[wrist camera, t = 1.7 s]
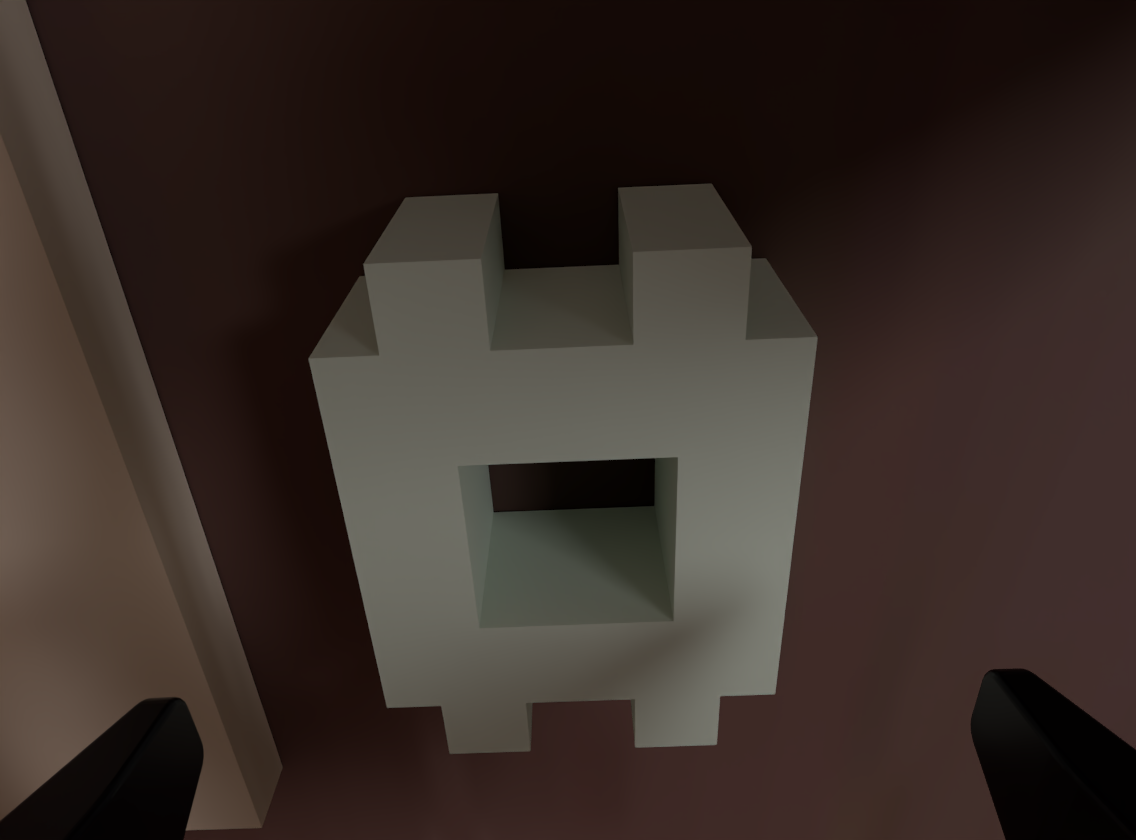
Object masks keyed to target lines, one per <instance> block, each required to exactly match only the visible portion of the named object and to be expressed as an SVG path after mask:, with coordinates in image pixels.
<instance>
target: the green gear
mask: <svg viewBox="0 0 1136 840" xmlns="http://www.w3.org/2000/svg"><path fill="white" fill-rule="evenodd" d="M618 225H619V265H600V266H577V267H555V268H532V269H509V270H505V266H504V255H503V243H502V232H501V220H500V208H499V197H498V193H492V194H470V195H449V196H427V197H405V199H404V200H403V202H402V204H401V205H400V207H399V208H398V210H397V212H396V213H395V215H394V216H393V218H392V219H391V221H390V223H389V224H388V226H387V227H386V229H385V230H384V232H383V234H382V235H381V237H380V238H379V240H378V241H377V243H376V245H375V246H374V248H373V249H372V251H371V253H370V254H369V256H368V257H367V259H366V260H365V262H364V264H363V266H364V271H365V276H359V278H358V280H357V281H356V283H355V284H354V286H353V288H352V289H351V291H350V292H349V294H348V296H347V297H346V299H345V300H344V302H343V304H342V305H341V307H340V308H339V310H338V312H337V313H336V315H335V317H334V318H333V320H332V321H331V323H330V325H329V326H328V328H327V329H326V331H325V333H324V334H323V336H322V337H321V339H320V341H319V342H318V344H317V345H316V347H315V349H314V350H313V352H312V354H311V355H310V357H309V358H308V359H309V364H310V368H311V372H312V377H313V381H314V386H315V390H316V395H317V399H318V404H319V408H320V413H321V417H322V421H323V426H324V430H325V435H326V439H327V444H328V448H329V453H330V457H331V461H332V466H333V470H334V475H335V479H336V484H337V488H338V493H339V497H340V501H341V506H342V510H343V515H344V519H345V524H346V528H347V533H348V537H349V541H350V546H351V550H352V555H353V559H354V564H355V568H356V573H357V577H358V581H359V586H360V590H361V595H362V599H363V604H364V608H365V613H366V617H367V621H368V626H369V630H370V635H371V639H372V644H373V648H374V653H375V657H376V661H377V666H378V670H379V675H380V679H381V684H382V688H383V693H384V697H385V701H386V706H387V708H398V707H426V706H441V708H442V714H443V719H444V725H445V731H446V736H447V742H448V748H449V753H450V754H462V753H491V752H520V751H531V728H532V703H539V702H568V701H596V700H624V699H631V708H632V719H633V730H634V741H635V748H637V747H666V746H695V745H717V733H718V719H719V705H720V696H738V695H766V694H775V691H776V682H777V674H778V666H779V657H780V649H781V641H782V632H783V624H784V615H785V607H786V599H787V590H788V582H789V573H790V565H791V557H792V548H793V540H794V532H795V523H796V515H797V506H798V498H799V490H800V481H801V473H802V465H803V456H804V448H805V439H806V431H807V423H808V414H809V406H810V397H811V389H812V381H813V372H814V364H815V356H816V347H817V339H818V337H817V335H816V334H815V332H814V331H813V329H812V327H811V326H810V324H809V323H808V321H807V320H806V318H805V317H804V315H803V314H802V312H801V311H800V309H799V308H798V306H797V305H796V303H795V302H794V300H793V299H792V297H791V296H790V294H789V293H788V291H787V290H786V288H785V287H784V285H783V284H782V282H781V281H780V279H779V277H778V276H777V274H776V273H775V271H774V270H773V268H772V267H771V265H770V264H769V262H768V261H767V259H766V258H758V259H751V255H752V246H751V244H750V243H749V241H748V240H747V238H746V236H745V235H744V233H743V232H742V230H741V229H740V227H739V226H738V224H737V222H736V221H735V219H734V218H733V216H732V215H731V213H730V211H729V210H728V208H727V207H726V205H725V204H724V202H723V200H722V199H721V197H720V196H719V194H718V193H717V191H716V190H715V188H714V186H713V185H712V183H711V184H689V185H667V186H645V187H623V188H618ZM643 458H655V503H654V506H642V507H616V508H591V509H565V510H540V511H514V512H493V503H492V494H491V485H490V476H489V467H488V465H494V464H519V463H544V462H568V461H593V460H618V459H643Z"/></svg>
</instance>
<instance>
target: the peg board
mask: <svg viewBox="0 0 1136 840" xmlns="http://www.w3.org/2000/svg"><path fill="white" fill-rule="evenodd" d="M161 697H178V698H181V699H182V700H184V701H185V702H186V704H187V706H188V708H189V711H190V713H191V716H192V718H193V721H194V723H195V726H196V728H197V731H198V733H199V736H200V738H201V740H202V744H203V749H204V759H203V766H202V770H201V774H200V778H199V781H198V785H197V789H196V793H195V797H194V801H193V805H192V808H191V812H190V816H189V820H188V824H187V828H186V830H213V829H243V828H262V826H263V824H264V821H265V818H266V815H267V812H268V809H269V806H270V803H271V800H272V797H273V794H274V791H275V788H276V786H277V783H278V780H279V777H280V774H281V771H282V768H283V766H282V763H281V760H280V757H279V754H278V751H277V748H276V745H275V742H274V739H273V737H272V734H271V731H270V728H269V725H268V722H267V719H266V716H265V713H264V710H263V707H262V704H261V701H260V698H259V695H258V692H257V689H256V686H255V683H254V680H253V677H252V674H251V671H250V668H249V665H248V662H247V659H246V656H245V653H244V650H243V647H242V644H241V641H240V638H239V635H238V632H237V629H236V626H235V623H234V620H233V617H232V614H231V611H230V608H229V605H228V602H227V599H226V596H225V593H224V590H223V587H222V584H221V581H220V579H219V576H218V573H217V570H216V567H215V564H214V561H213V558H212V555H211V552H210V549H209V546H208V543H207V540H206V537H205V534H204V531H203V528H202V525H201V522H200V519H199V516H198V513H197V510H196V507H195V504H194V501H193V498H192V495H191V492H190V489H189V486H188V483H187V480H186V477H185V474H184V471H183V468H182V465H181V462H180V459H179V456H178V453H177V450H176V447H175V444H174V441H173V438H172V435H171V432H170V429H169V426H168V423H167V421H166V418H165V415H164V412H163V409H162V406H161V403H160V400H159V397H158V394H157V391H156V388H155V385H154V382H153V379H152V376H151V373H150V370H149V367H148V364H147V361H146V358H145V355H144V352H143V349H142V346H141V343H140V340H139V337H138V334H137V331H136V328H135V325H134V322H133V319H132V316H131V313H130V310H129V307H128V304H127V301H126V298H125V295H124V292H123V289H122V286H121V283H120V280H119V277H118V274H117V271H116V268H115V265H114V263H113V260H112V257H111V254H110V251H109V248H108V245H107V242H106V239H105V236H104V233H103V230H102V227H101V224H100V221H99V218H98V215H97V212H96V209H95V206H94V203H93V200H92V197H91V194H90V191H89V188H88V185H87V182H86V179H85V176H84V173H83V170H82V167H81V164H80V161H79V158H78V155H77V152H76V149H75V146H74V143H73V140H72V137H71V134H70V131H69V128H68V125H67V122H66V119H65V116H64V113H63V110H62V107H61V105H60V102H59V99H58V96H57V93H56V90H55V87H54V84H53V81H52V78H51V75H50V72H49V69H48V66H47V63H46V60H45V57H44V54H43V51H42V48H41V45H40V42H39V39H38V36H37V33H36V30H35V27H34V24H33V21H32V18H31V15H30V12H29V9H28V6H27V3H26V0H0V820H1V819H3V818H4V817H5V816H6V815H7V814H8V813H10V812H11V811H12V810H13V809H14V808H16V807H17V806H18V805H19V804H20V803H21V802H23V801H24V800H25V799H26V798H27V797H28V796H30V795H31V794H32V793H33V792H34V791H35V790H37V789H38V788H39V787H40V786H41V785H42V784H44V783H45V782H46V781H47V780H48V779H50V778H51V777H52V776H53V775H54V774H55V773H57V772H58V771H59V770H60V769H61V768H62V767H64V766H65V765H66V764H67V763H68V762H69V761H71V760H72V759H73V758H74V757H75V756H76V755H78V754H79V753H80V752H81V751H82V750H84V749H85V748H86V747H87V746H88V745H89V744H91V743H92V742H93V741H94V740H95V739H96V738H98V737H99V736H100V735H101V734H102V733H103V732H105V731H106V730H107V729H108V728H109V727H111V726H112V725H113V724H114V723H115V722H116V721H118V720H119V719H120V718H121V717H122V716H123V715H125V714H126V713H127V712H128V711H129V710H130V709H132V708H133V707H134V706H135V705H136V704H138V703H139V702H141V701H143V700H144V699H148V698H161Z"/></svg>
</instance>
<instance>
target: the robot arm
mask: <svg viewBox="0 0 1136 840" xmlns="http://www.w3.org/2000/svg"><path fill="white" fill-rule="evenodd" d="M971 734H972V739H973V742H974V746H975V749H976V752H977V755H978V758H979V761H980V764H981V767H982V770H983V773H984V776H985V779H986V782H987V785H988V788H989V791H990V794H991V797H992V800H993V803H994V806H995V809H996V812H997V815H998V818H999V821H1000V824H1001V827H1002V830H1003V833H1004V836H1005V839H1006V840H1136V750H1135V749H1134V748H1133V747H1131V746H1130V745H1129V744H1127V743H1126V742H1125V741H1123V740H1122V739H1121V738H1119V737H1118V736H1117V735H1115V734H1114V733H1113V732H1111V731H1110V730H1109V729H1107V728H1106V727H1105V726H1103V725H1102V724H1101V723H1099V722H1098V721H1097V720H1095V719H1094V718H1093V717H1091V716H1090V715H1089V714H1087V713H1086V712H1085V711H1083V710H1082V709H1081V708H1079V707H1078V706H1077V705H1075V704H1074V703H1073V702H1071V701H1070V700H1069V699H1067V698H1066V697H1065V696H1063V695H1062V694H1061V693H1059V692H1058V691H1057V690H1055V689H1054V688H1053V687H1051V686H1050V685H1049V684H1047V683H1046V682H1045V681H1043V680H1042V679H1041V678H1039V677H1038V676H1037V675H1035V674H1034V673H1032V672H1030V671H1028V670H1025V669H993V670H990V671H988V672H987V673H986V674H985V676H984V678H983V680H982V684H981V687H980V690H979V694H978V697H977V700H976V704H975V707H974V710H973V714H972V718H971ZM203 759H204V749H203V744H202V740H201V738H200V736H199V733H198V731H197V728H196V726H195V723H194V721H193V718H192V716H191V713H190V711H189V708H188V706H187V704H186V702H185V701H184V700H182V699H181V698H178V697H161V698H148V699H144V700H143V701H141V702H139V703H138V704H136V705H135V706H134V707H133V708H132V709H130V710H129V711H128V712H127V713H126V714H125V715H123V716H122V717H121V718H120V719H119V720H118V721H116V722H115V723H114V724H113V725H112V726H111V727H109V728H108V729H107V730H106V731H105V732H103V733H102V734H101V735H100V736H99V737H98V738H96V739H95V740H94V741H93V742H92V743H91V744H89V745H88V746H87V747H86V748H85V749H84V750H82V751H81V752H80V753H79V754H78V755H76V756H75V757H74V758H73V759H72V760H71V761H69V762H68V763H67V764H66V765H65V766H64V767H62V768H61V769H60V770H59V771H58V772H57V773H55V774H54V775H53V776H52V777H51V778H50V779H48V780H47V781H46V782H45V783H44V784H42V785H41V786H40V787H39V788H38V789H37V790H35V791H34V792H33V793H32V794H31V795H30V796H28V797H27V798H26V799H25V800H24V801H23V802H21V803H20V804H19V805H18V806H17V807H16V808H14V809H13V810H12V811H11V812H10V813H8V814H7V815H6V816H5V817H4V818H3V819H1V820H0V840H183V839H184V835H185V832H186V828H187V824H188V820H189V816H190V812H191V808H192V805H193V801H194V797H195V793H196V789H197V785H198V781H199V778H200V774H201V770H202V766H203Z"/></svg>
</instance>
